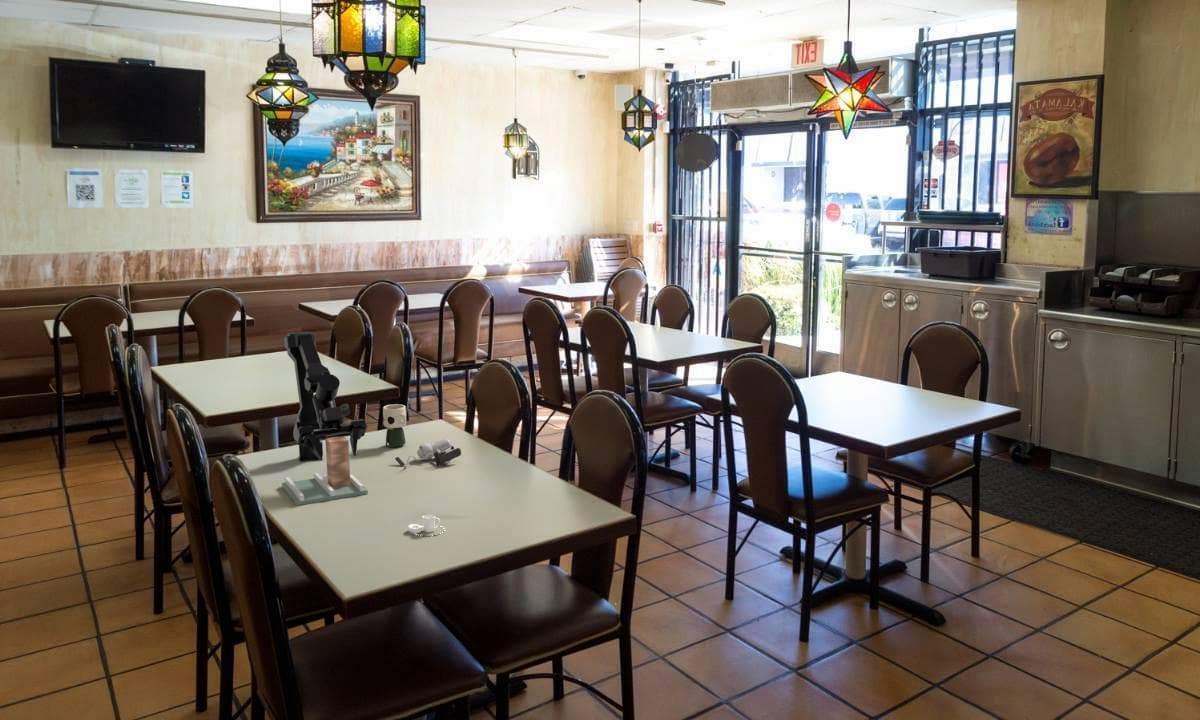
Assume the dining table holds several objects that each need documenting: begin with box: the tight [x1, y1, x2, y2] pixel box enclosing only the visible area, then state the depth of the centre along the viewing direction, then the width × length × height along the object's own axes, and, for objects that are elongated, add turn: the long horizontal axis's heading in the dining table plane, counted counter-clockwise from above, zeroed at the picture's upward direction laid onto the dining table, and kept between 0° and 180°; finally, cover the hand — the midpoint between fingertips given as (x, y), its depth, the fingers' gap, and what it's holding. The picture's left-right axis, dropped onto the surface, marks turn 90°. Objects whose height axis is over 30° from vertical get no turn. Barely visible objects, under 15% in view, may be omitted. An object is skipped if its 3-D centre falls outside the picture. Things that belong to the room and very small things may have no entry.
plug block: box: [324, 435, 351, 488], centre depth 263 cm, size 5×5×13 cm
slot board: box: [281, 472, 369, 506], centre depth 262 cm, size 18×19×2 cm
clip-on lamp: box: [394, 438, 462, 468], centre depth 288 cm, size 12×6×18 cm
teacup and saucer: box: [406, 513, 446, 537], centre depth 232 cm, size 9×8×4 cm
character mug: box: [382, 403, 407, 448], centre depth 305 cm, size 11×7×13 cm, turn 51°
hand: (338, 457), depth 261 cm, fingers open, 9 cm apart
